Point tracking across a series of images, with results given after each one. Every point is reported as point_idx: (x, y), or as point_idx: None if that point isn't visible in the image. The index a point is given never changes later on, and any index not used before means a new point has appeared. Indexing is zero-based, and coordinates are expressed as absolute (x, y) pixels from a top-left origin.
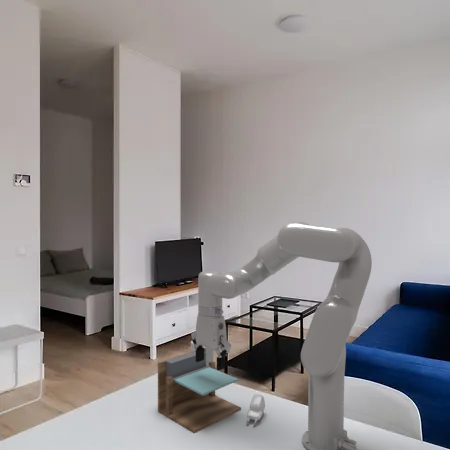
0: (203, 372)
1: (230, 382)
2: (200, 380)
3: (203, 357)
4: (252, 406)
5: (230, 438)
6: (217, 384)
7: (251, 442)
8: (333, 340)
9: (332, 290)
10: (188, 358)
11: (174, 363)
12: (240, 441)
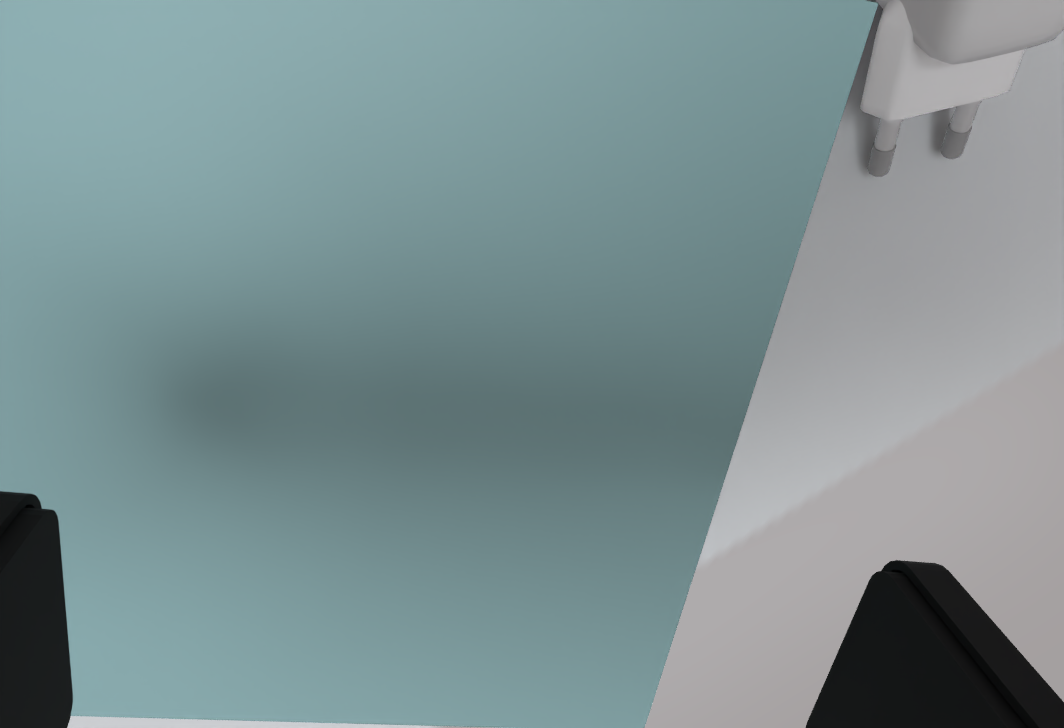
0: (52, 196)
1: (800, 228)
2: (318, 498)
3: (17, 580)
4: (979, 59)
5: (814, 405)
6: (653, 437)
7: (984, 352)
8: None
9: None
10: None
11: None
12: (901, 391)
